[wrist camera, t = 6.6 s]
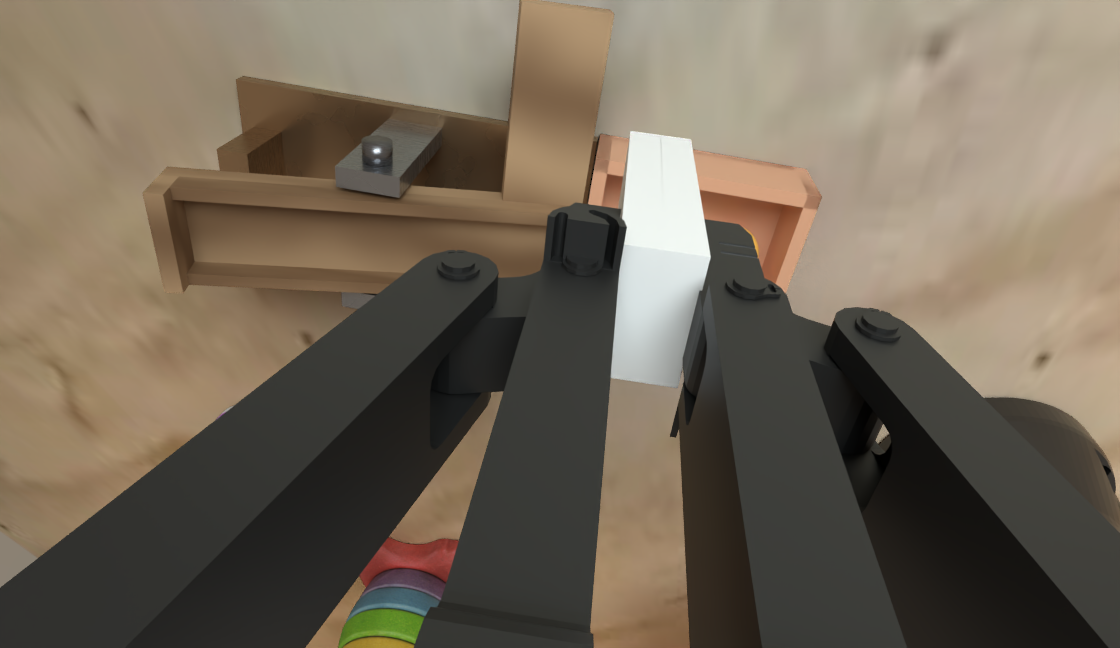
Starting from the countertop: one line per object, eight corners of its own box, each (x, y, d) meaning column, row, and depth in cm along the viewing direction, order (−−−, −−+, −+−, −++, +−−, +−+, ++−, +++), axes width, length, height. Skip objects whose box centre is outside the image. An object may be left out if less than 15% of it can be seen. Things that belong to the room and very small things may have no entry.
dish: (755, 312, 42) (764, 348, 38) (575, 280, 42) (568, 314, 39) (806, 169, 37) (821, 197, 33) (600, 133, 37) (595, 158, 33)
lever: (565, 281, 37) (573, 311, 35) (185, 261, 34) (164, 292, 31) (610, 9, 30) (623, 23, 27) (123, -54, 26) (89, -45, 24)
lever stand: (573, 281, 42) (558, 360, 35) (261, 227, 42) (185, 294, 35) (599, 131, 37) (587, 188, 30) (242, 70, 37) (148, 112, 30)
